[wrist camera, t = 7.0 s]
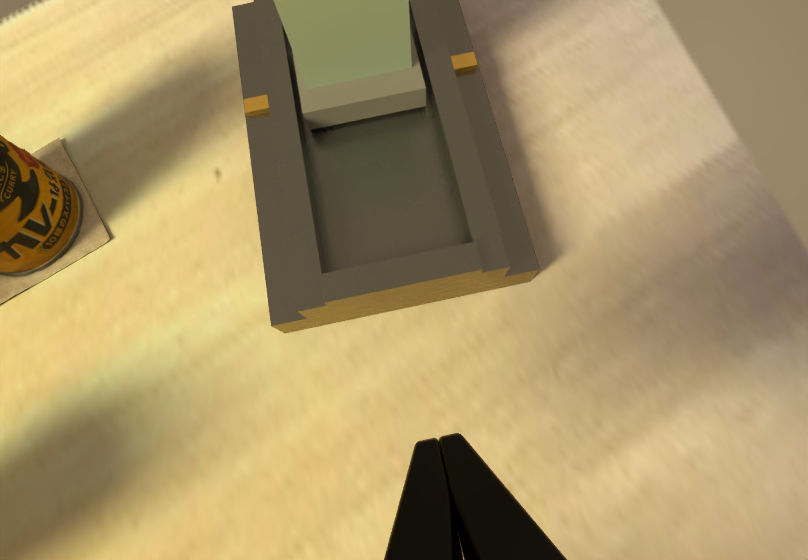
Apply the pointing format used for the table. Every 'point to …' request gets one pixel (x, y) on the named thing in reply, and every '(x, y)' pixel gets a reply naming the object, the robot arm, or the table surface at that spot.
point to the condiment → (42, 216)
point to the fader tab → (352, 58)
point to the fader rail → (378, 183)
